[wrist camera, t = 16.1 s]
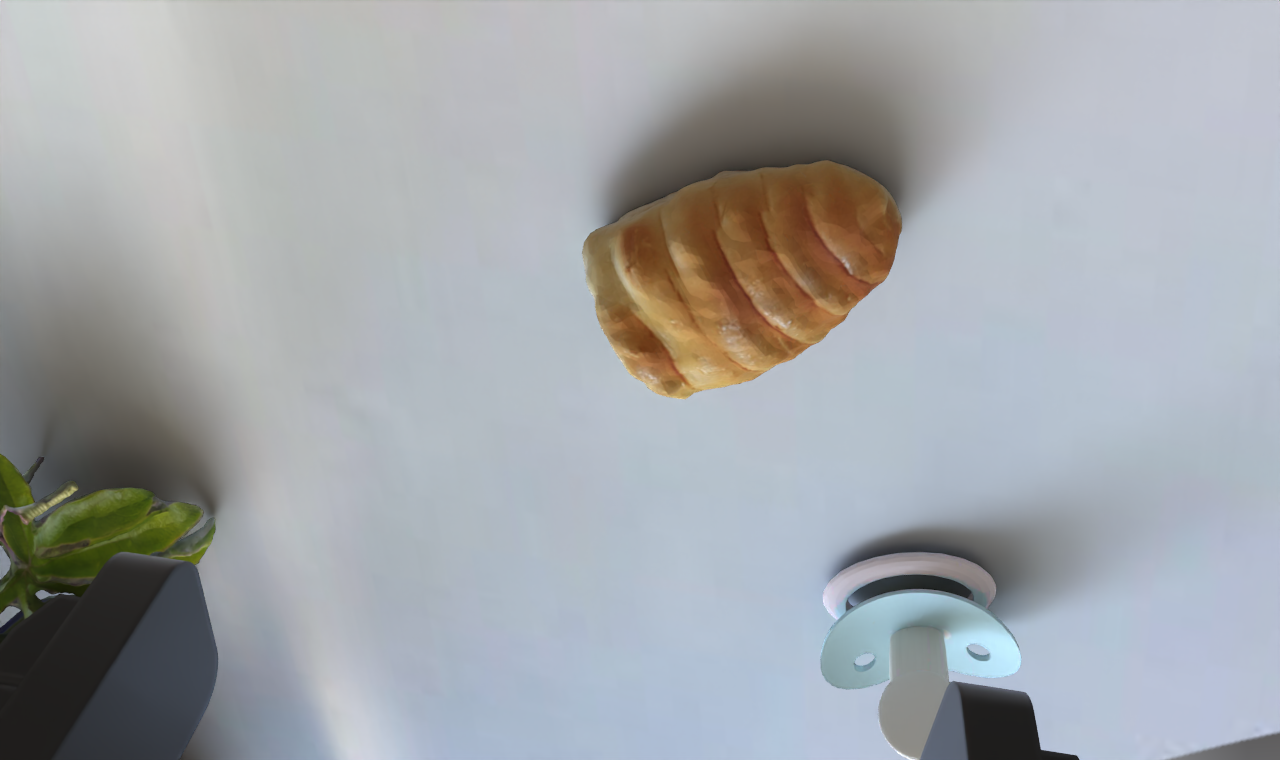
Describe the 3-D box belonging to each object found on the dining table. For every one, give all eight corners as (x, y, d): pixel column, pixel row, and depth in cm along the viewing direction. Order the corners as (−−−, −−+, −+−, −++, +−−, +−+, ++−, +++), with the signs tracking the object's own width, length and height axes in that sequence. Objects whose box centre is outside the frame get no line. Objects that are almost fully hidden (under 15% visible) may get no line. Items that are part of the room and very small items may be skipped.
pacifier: (801, 552, 43) (833, 659, 46) (792, 681, 38) (830, 791, 41) (999, 530, 41) (1020, 644, 44) (1019, 663, 36) (1040, 781, 39)
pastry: (837, 87, 32) (836, 146, 29) (940, 267, 35) (949, 338, 32) (572, 229, 36) (547, 293, 33) (684, 380, 39) (671, 452, 36)
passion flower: (182, 505, 54) (-21, 705, 50) (21, 354, 47) (-234, 572, 43) (303, 596, 47) (77, 840, 43) (134, 434, 40) (-159, 707, 35)
